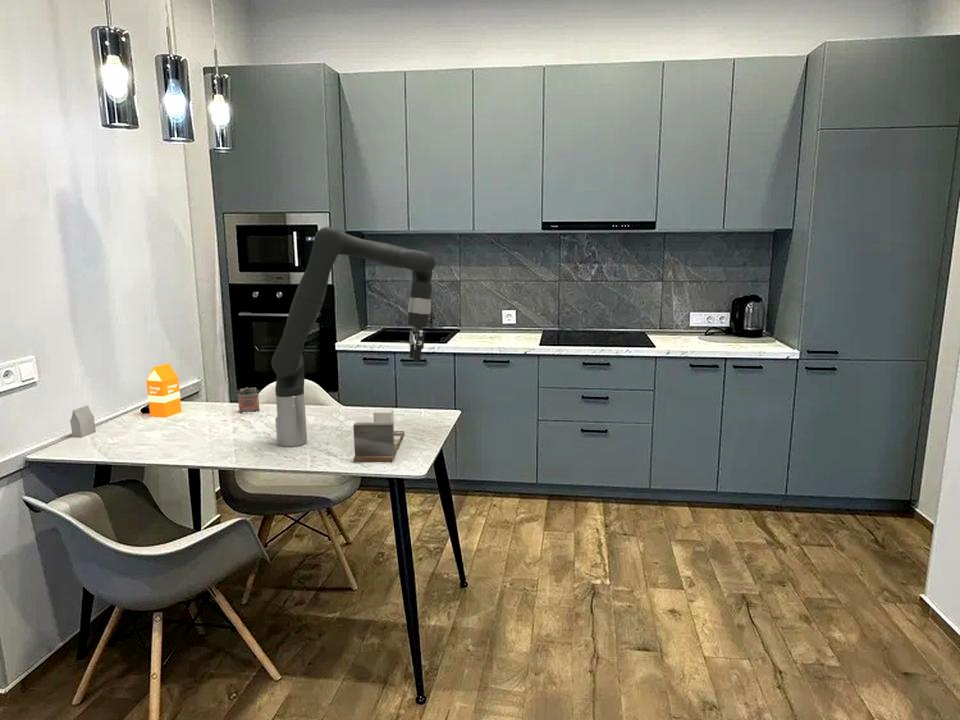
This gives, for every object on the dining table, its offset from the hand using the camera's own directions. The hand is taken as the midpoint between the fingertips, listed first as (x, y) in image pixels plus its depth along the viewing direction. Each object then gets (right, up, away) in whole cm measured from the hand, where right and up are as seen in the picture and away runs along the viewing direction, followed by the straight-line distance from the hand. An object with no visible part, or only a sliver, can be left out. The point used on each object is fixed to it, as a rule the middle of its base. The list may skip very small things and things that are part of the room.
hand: (414, 359), depth 221 cm
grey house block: (-121, -27, +15) cm, 125 cm away
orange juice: (-104, -22, +41) cm, 114 cm away
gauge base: (-11, -29, -4) cm, 32 cm away
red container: (-71, -21, +42) cm, 85 cm away
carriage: (-9, -26, +2) cm, 28 cm away
